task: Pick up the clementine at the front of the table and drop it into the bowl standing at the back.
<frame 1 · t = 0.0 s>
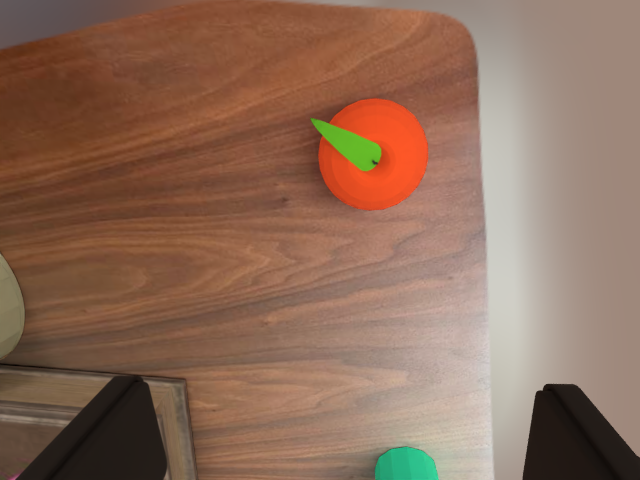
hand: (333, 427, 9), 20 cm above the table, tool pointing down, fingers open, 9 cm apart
candle: (405, 468, 35), on the table
clementine: (364, 148, 26), on the table
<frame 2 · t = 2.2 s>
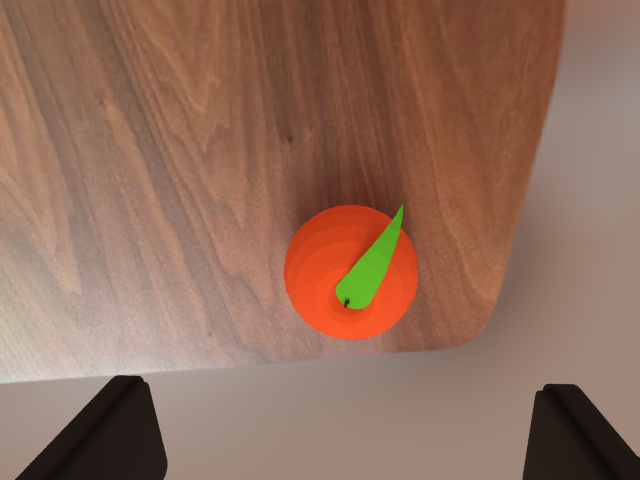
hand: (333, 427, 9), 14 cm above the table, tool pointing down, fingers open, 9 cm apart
clementine: (356, 240, 22), on the table
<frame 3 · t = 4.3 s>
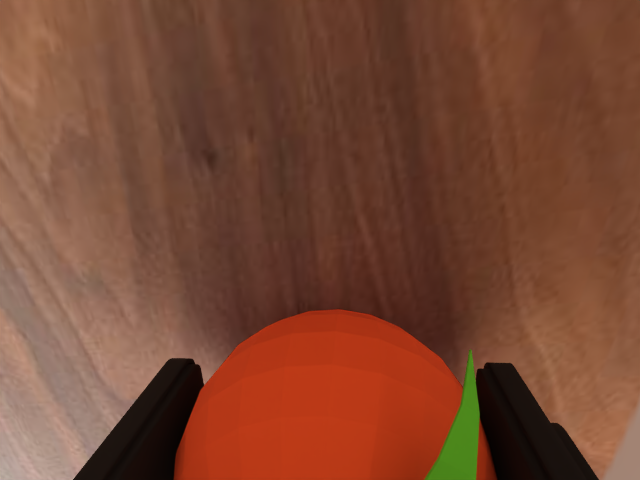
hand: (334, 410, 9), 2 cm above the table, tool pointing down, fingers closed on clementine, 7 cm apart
clementine: (349, 349, 12), on the table, touching gripper
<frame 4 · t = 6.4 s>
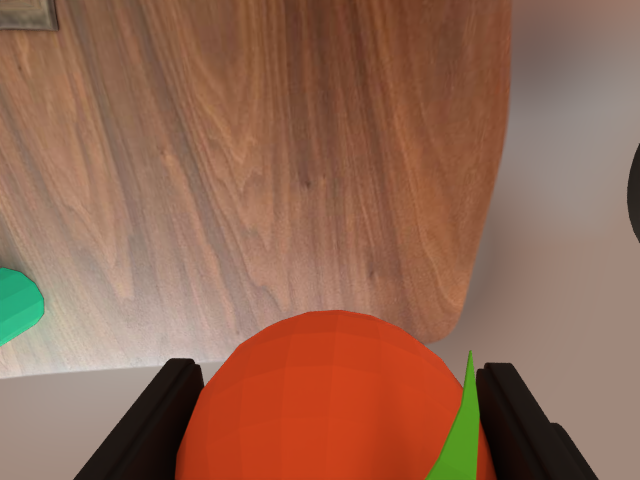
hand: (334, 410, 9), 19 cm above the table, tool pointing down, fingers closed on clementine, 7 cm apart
candle: (15, 297, 33), on the table
clementine: (349, 350, 12), point 17 cm above the table, touching gripper
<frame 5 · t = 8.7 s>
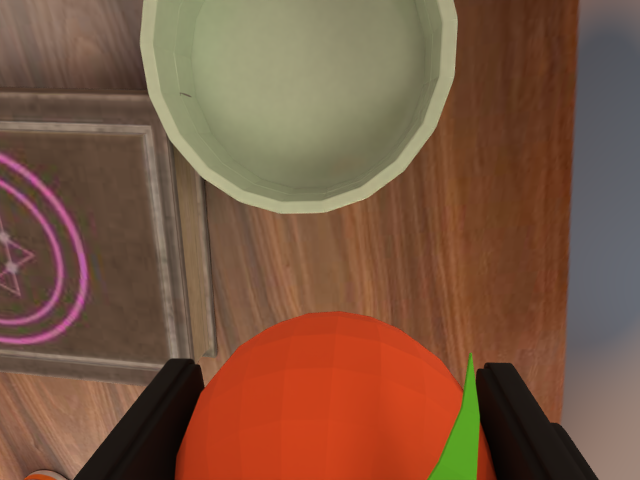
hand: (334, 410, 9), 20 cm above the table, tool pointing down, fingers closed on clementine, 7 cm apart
bowl: (306, 72, 25), on the table
book: (40, 228, 31), on the table, touching bowl
clementine: (349, 351, 12), point 17 cm above the table, touching gripper
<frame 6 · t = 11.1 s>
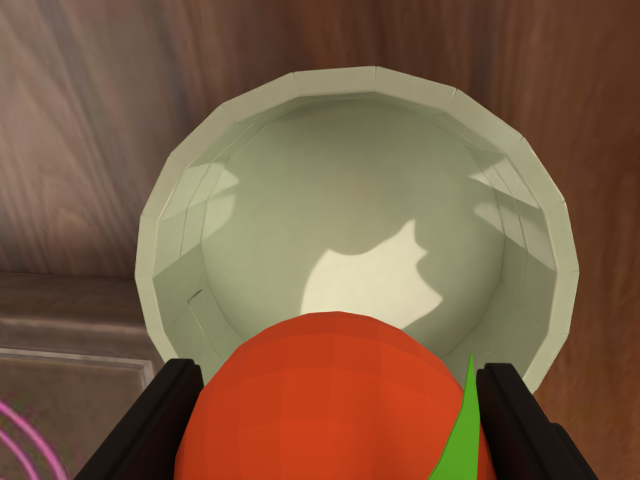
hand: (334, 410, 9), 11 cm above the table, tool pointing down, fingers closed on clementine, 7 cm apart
bowl: (346, 257, 20), on the table
book: (20, 404, 26), on the table, touching bowl
clementine: (349, 351, 12), point 9 cm above the table, touching gripper
when the fingers open (6 cm above the table, at t = 13.2 s): clementine drops 3 cm, resting on bowl.
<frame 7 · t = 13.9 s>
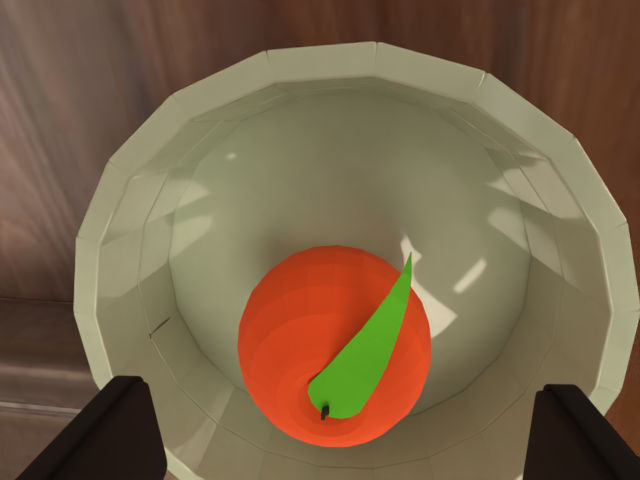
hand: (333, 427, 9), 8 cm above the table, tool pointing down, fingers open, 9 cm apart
bowl: (341, 279, 17), on the table
clementine: (344, 284, 16), resting on bowl
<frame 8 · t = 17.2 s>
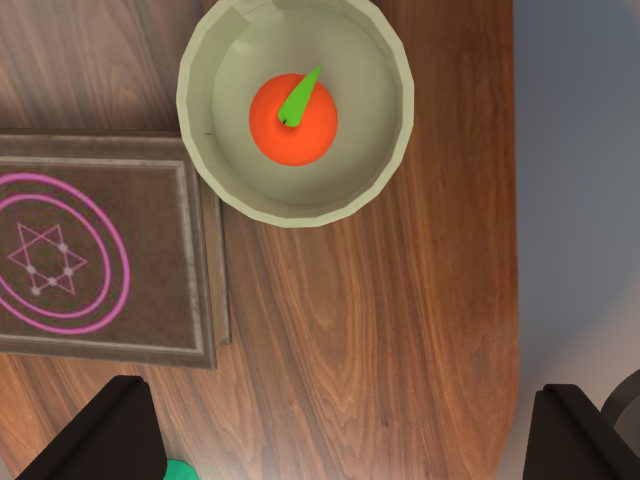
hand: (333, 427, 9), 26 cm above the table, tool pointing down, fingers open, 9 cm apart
bowl: (302, 114, 32), on the table
book: (85, 238, 38), on the table, touching bowl
candle: (177, 475, 47), on the table
clementine: (303, 116, 31), resting on bowl
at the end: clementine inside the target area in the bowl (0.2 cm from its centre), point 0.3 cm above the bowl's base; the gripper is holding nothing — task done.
